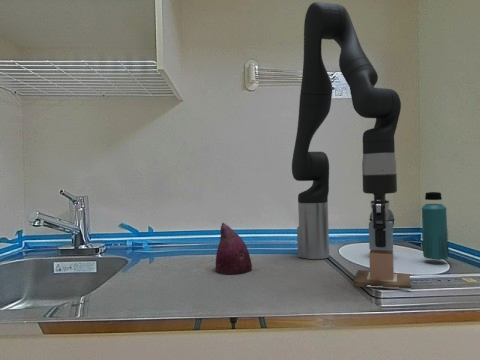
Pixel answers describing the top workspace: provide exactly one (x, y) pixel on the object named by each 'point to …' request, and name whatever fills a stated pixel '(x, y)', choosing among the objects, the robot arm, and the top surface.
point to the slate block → (387, 233)
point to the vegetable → (232, 253)
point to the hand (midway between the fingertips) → (381, 244)
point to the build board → (364, 279)
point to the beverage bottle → (434, 229)
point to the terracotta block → (381, 264)
